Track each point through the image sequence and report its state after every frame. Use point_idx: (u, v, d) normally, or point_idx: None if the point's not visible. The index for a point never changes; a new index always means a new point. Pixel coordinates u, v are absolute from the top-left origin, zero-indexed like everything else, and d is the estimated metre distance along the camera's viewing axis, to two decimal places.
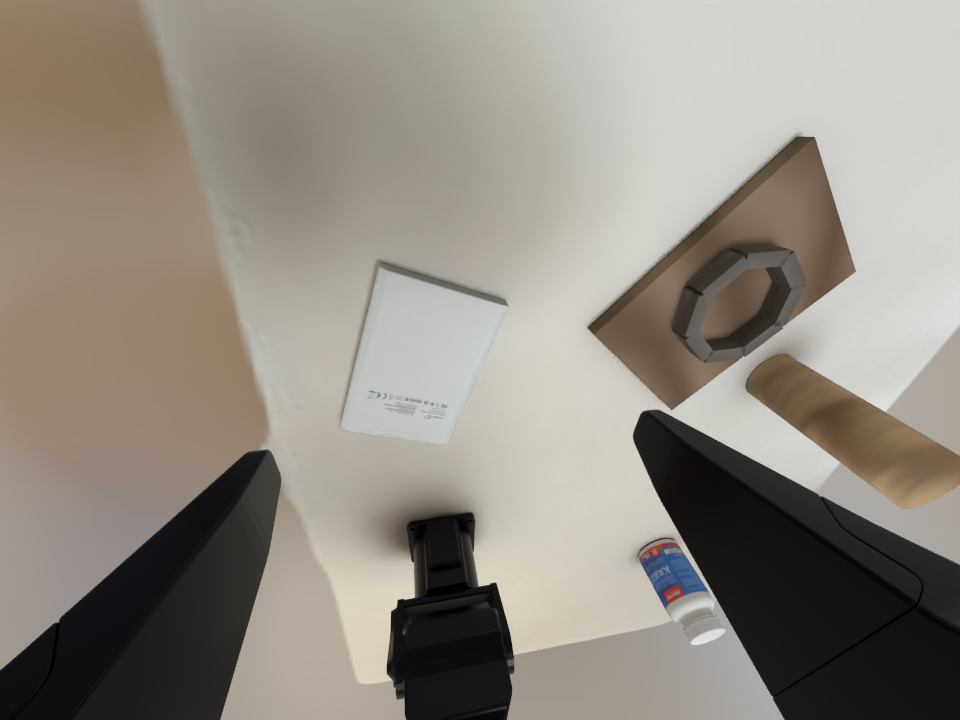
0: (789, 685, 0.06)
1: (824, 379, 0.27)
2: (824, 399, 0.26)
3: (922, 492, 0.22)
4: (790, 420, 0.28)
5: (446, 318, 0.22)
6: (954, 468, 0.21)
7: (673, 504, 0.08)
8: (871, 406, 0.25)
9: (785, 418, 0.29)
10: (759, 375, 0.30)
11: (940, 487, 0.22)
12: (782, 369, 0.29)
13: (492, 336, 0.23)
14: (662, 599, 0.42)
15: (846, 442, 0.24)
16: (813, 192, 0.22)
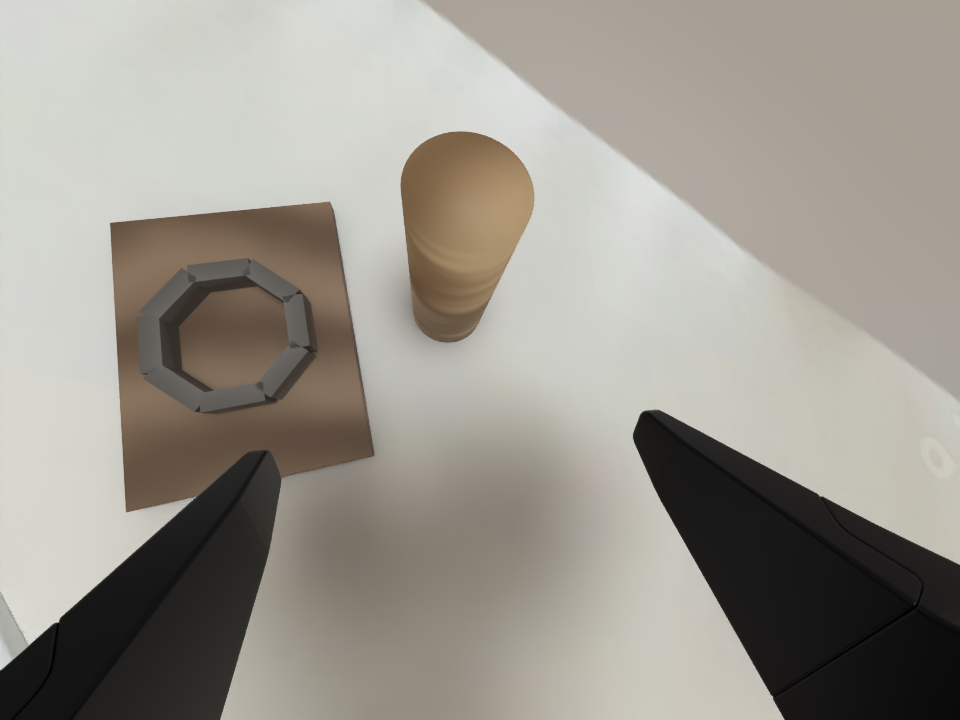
0: (789, 685, 0.06)
1: None
2: None
3: (469, 211, 0.11)
4: (448, 321, 0.18)
5: None
6: (423, 161, 0.11)
7: (673, 504, 0.08)
8: None
9: (452, 324, 0.19)
10: (419, 324, 0.22)
11: (483, 181, 0.12)
12: None
13: None
14: None
15: (422, 279, 0.15)
16: (175, 230, 0.21)
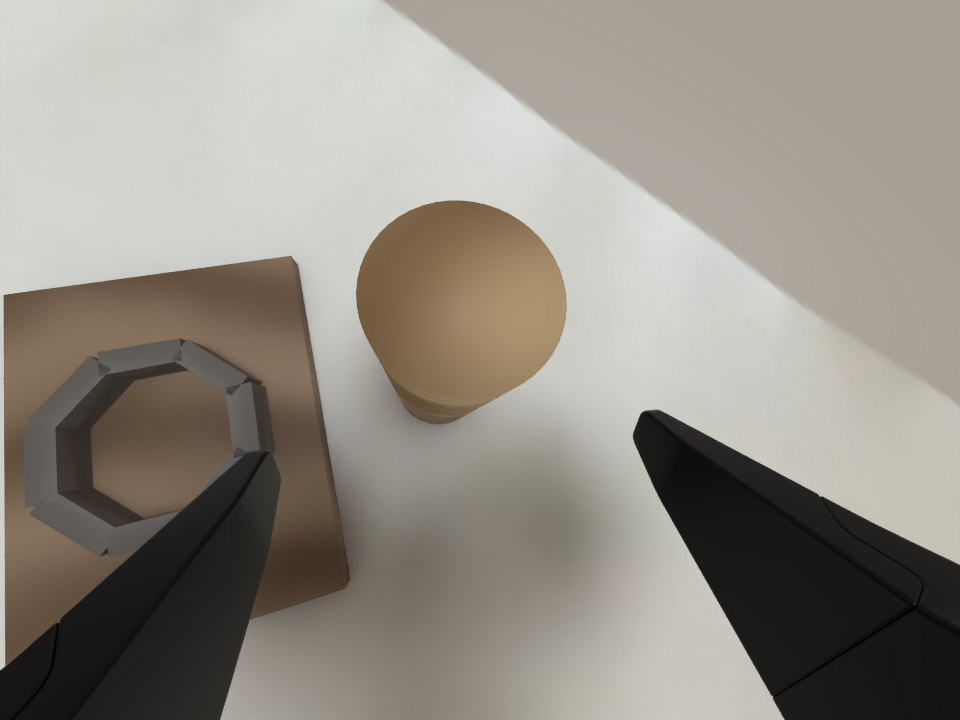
0: (789, 685, 0.06)
1: None
2: None
3: (467, 329, 0.07)
4: (440, 419, 0.14)
5: None
6: (393, 252, 0.07)
7: (673, 504, 0.08)
8: None
9: (446, 419, 0.15)
10: (404, 405, 0.18)
11: (488, 278, 0.07)
12: None
13: None
14: None
15: (400, 392, 0.10)
16: (91, 301, 0.16)
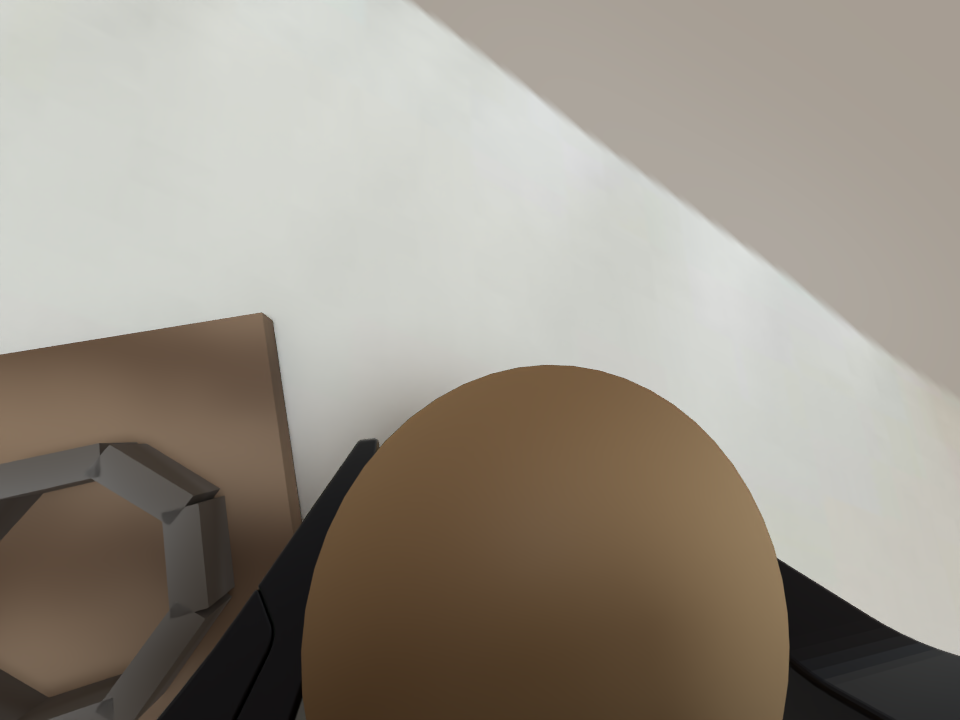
0: None
1: None
2: None
3: (576, 717, 0.03)
4: None
5: None
6: (397, 515, 0.03)
7: None
8: None
9: None
10: None
11: (616, 561, 0.03)
12: None
13: None
14: None
15: None
16: None
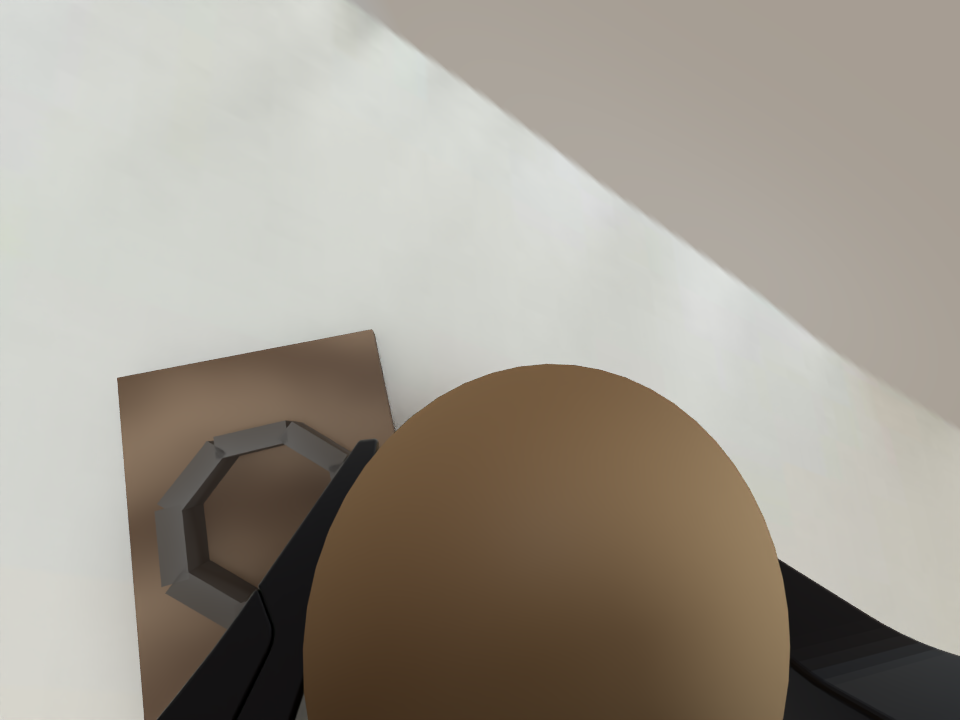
0: None
1: None
2: None
3: (577, 716, 0.03)
4: None
5: None
6: (398, 514, 0.03)
7: None
8: None
9: None
10: None
11: (616, 560, 0.03)
12: None
13: None
14: None
15: None
16: (195, 380, 0.17)
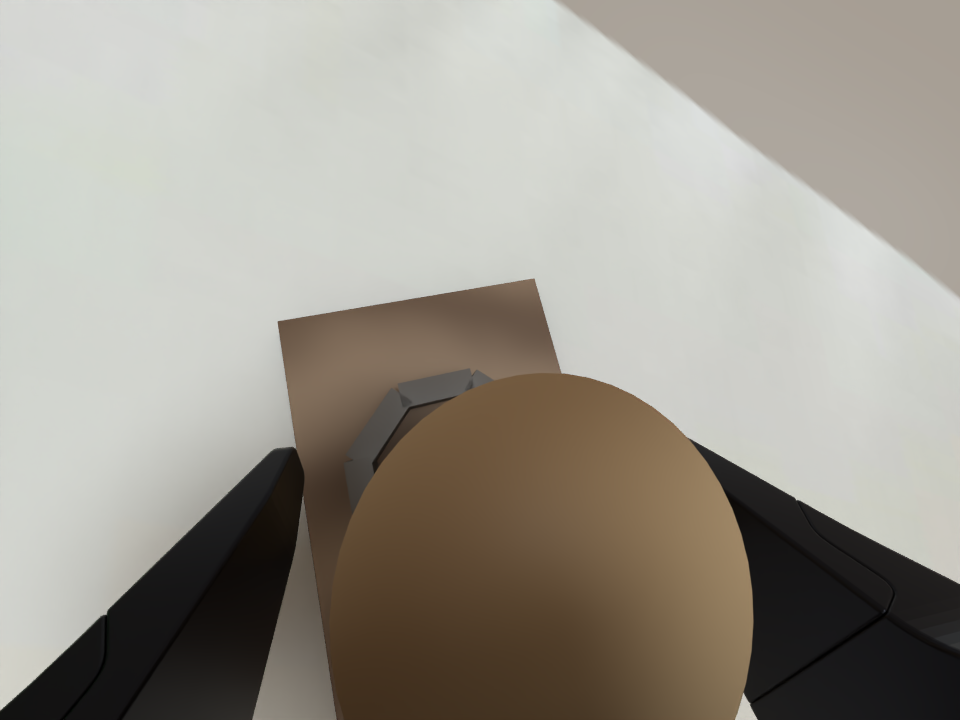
0: (765, 692, 0.06)
1: None
2: None
3: (566, 679, 0.03)
4: None
5: None
6: (411, 505, 0.03)
7: None
8: None
9: None
10: None
11: (601, 546, 0.04)
12: None
13: None
14: None
15: None
16: (358, 327, 0.16)
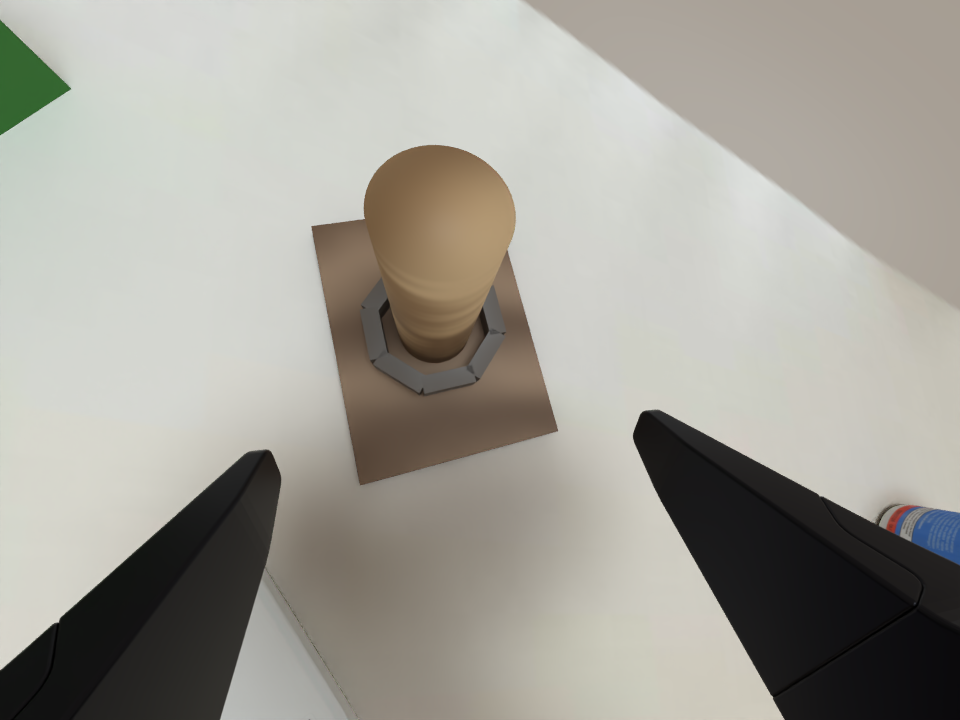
0: (789, 685, 0.06)
1: None
2: None
3: (442, 234, 0.10)
4: (432, 345, 0.17)
5: None
6: (390, 180, 0.10)
7: (673, 504, 0.08)
8: None
9: (437, 347, 0.18)
10: (404, 345, 0.21)
11: (458, 200, 0.10)
12: None
13: (262, 595, 0.18)
14: None
15: (398, 305, 0.13)
16: (367, 231, 0.22)
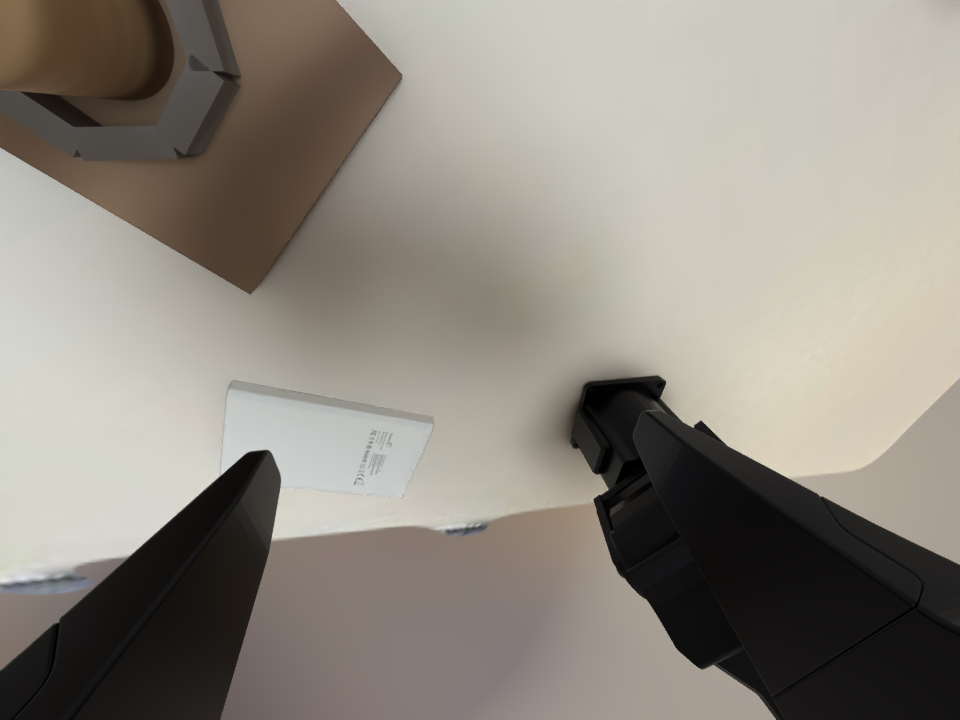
0: (789, 685, 0.06)
1: None
2: None
3: None
4: (64, 80, 0.09)
5: (257, 440, 0.22)
6: None
7: (673, 504, 0.08)
8: None
9: (84, 75, 0.10)
10: None
11: None
12: None
13: (271, 401, 0.21)
14: None
15: None
16: None
